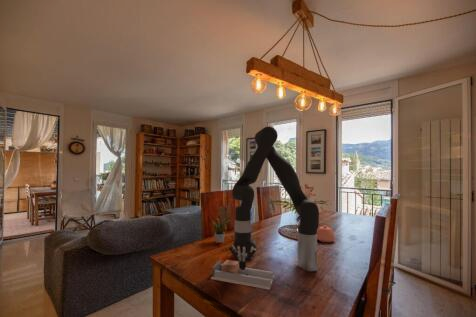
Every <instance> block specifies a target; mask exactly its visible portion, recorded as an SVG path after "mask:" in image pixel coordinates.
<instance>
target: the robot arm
mask: <svg viewBox="0 0 476 317" xmlns="http://www.w3.org/2000/svg"><path fill="white" fill-rule="evenodd" d="M254 140H255V143H256V145H257V148H256V149H255V151H254V153H253V154H252V156H251V157H250V158H249V160H248V162H247V164H246V166H245V167H244V170H243V172H242V175H241V176H240V177H239V178H238V180H237V181H236V183H235V184H234V186H232V190H231V191H232V192H231V195H232V198H233V199H234V200H236V201H241V202H240V203H241V204H240V205H238V206H236V207H235V209H234V210H235V211H234V227H233V228H234V236H233V237H234V238H233V239H234V242H233V244H232V245H229V247H228V249H229V251H230V253H231V254H232V256H233V258H234V259H235V260H238V262H239V268H240V269H241V270H244V269H245V268H247V262H249V261H250V260H251V259H252V258H253V257H252V256H254V255H255V253H256V252H257V249H258V248H254V247H252V243H251V237H252V221H251V220H252V218H251V217H252V216H251V214H252V213H251V211H252V207H253V203H254V198H255V191H254V188H253V187H252V186H251V184H255V183H256V182H257V180H258V177H259V176H260V173H261V170H262V168H263V166H264V163H265V161H266V159H267V161H268V163H269V165H270V167H271V168H272V170H273V171H274V174H275V175H276V178H277V179H278V180H279V182H280V184H281V186H282V187H283V189H284V190H285V192H286V193H287V195H288V196H289V198H290V200H291V202H292V204H293V207H294V209H295V211H296V213H297V215H298V216H299V217H300V218H299V220H300V221H299V225H298V226H297V267H299V268H301V269H304V271H305V272H318V239H317V230H318V228H319V224H320V223H319V222H320V219H319V218H320V209H319V206H318V205H317V204H316V202H314V201H311V200H309V198H308V197H307V196H306V195H305V193H304V191H303V189H302V187H301V184H300V180H299V177H298V174H297V171H295V169H294V167H293V165H292V164H291V163H290V161H288V160H287V159H286V158H285V157H284V156H282V154H280V153H279V152H278V151H277V149H276V148H275V146H274V145H275V144H276V142H277V140H278V131H277V130H276V128H275V127H274V126H271V125H269V126H265V127H262V128H261V129H260V130H258V131H257V132H256V133H255V135H254ZM250 249H251V254H250V255H249V256H248V257H247V253H248V251H249V250H250Z"/></svg>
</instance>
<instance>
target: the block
mask: <svg viewBox="0 0 476 317" xmlns="http://www.w3.org/2000/svg"><path fill="white" fill-rule="evenodd" d="M222 264H223V271H224V272H230V273H236V274H238V273H239V260H238V261H237V260H231V259H226V260H225V261H224V262H223V263H222Z"/></svg>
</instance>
